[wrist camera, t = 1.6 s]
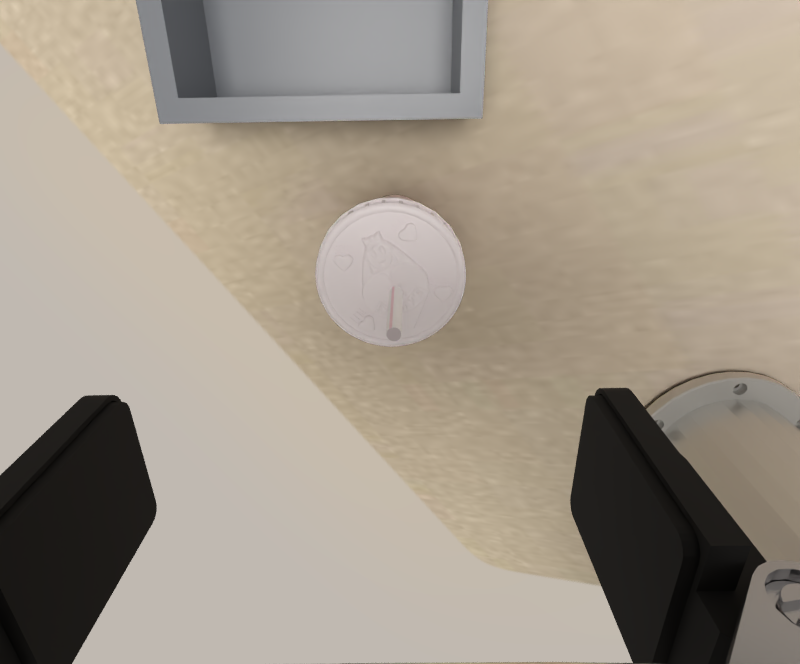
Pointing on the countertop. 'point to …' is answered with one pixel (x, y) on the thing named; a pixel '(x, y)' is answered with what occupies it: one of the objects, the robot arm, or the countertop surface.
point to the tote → (315, 59)
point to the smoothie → (390, 271)
